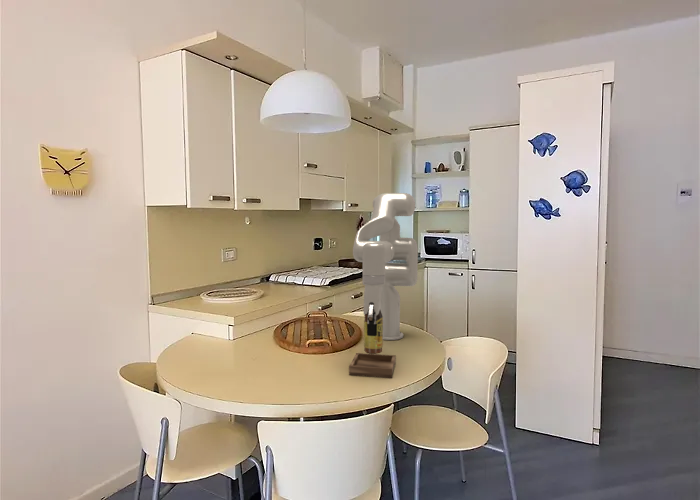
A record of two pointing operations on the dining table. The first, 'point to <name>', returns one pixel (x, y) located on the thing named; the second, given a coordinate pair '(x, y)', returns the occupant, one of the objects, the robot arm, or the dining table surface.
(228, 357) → the dining table surface
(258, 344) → the dining table surface
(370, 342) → the sauce bottle
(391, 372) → the tray
